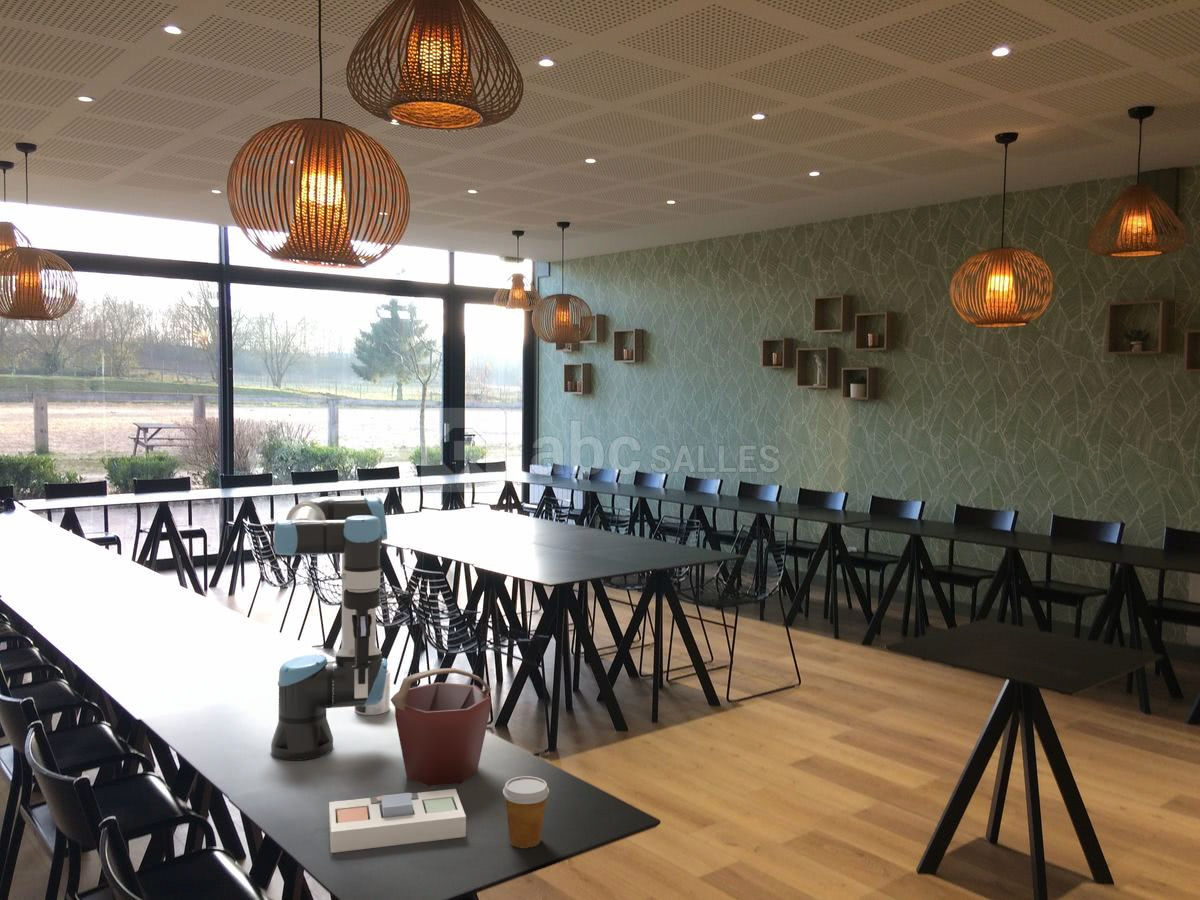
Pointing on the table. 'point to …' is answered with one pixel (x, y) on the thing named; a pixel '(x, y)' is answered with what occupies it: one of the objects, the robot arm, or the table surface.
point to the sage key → (439, 805)
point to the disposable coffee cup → (525, 809)
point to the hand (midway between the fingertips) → (361, 696)
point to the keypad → (395, 823)
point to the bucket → (441, 727)
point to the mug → (379, 707)
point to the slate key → (396, 805)
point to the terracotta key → (352, 815)
